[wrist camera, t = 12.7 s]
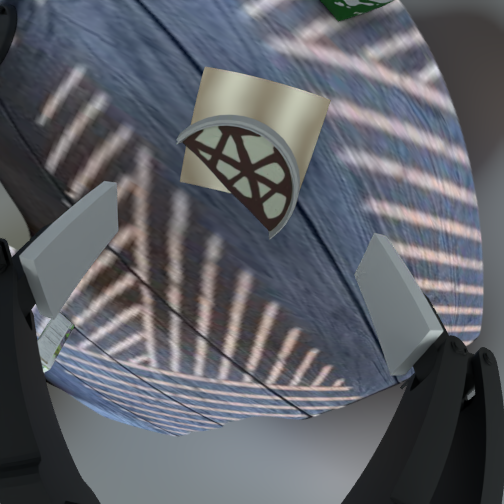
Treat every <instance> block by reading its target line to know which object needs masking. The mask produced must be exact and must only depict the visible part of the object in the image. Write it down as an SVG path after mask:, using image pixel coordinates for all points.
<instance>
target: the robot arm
mask: <svg viewBox="0 0 504 504" xmlns="http://www.w3.org/2000/svg"><path fill="white" fill-rule="evenodd" d="M16 21H17V14H16V10H15V8H14V6H12V5H6V4H1V5H0V63H1V62H2V60H3V59H4V57H5V55H6V53H7V51H8V49H9V47H10V44H11V42H12V39H13V36H14V32H15V28H16ZM117 232H118V211H117V183H114V182H107V181H104V182H103V183H101V184H100V185H99V186H97V187H96V188H95V189H93V190H92V191H91V192H89V193H88V194H87V195H86V196H84V197H83V198H82V199H81V200H79V201H78V202H77V203H76V204H75V205H73V206H72V207H71V208H70V209H69V210H67V211H66V212H65V213H64V214H63V215H62V216H60V217H59V218H58V219H57V220H56V221H55V222H54V223H51V224H49V225H47V226H45V227H43V228H42V229H41V230H39V231H38V232H37V233H36V234H35V236H33V237H32V238H31V239H30V241H28V242H27V243H26V244H25V245H24V246H23V247H22V248H21V249H20V250H19V251H18V252H17V253H16V254H15V255H14V256H13V257H12V256H11V253H10V250H9V246H8V243H7V241H6V240H5V239H2V238H0V503H1V504H100V502H99V500H98V499H97V497H96V495H95V494H94V492H93V491H92V490H91V488H90V487H89V486H88V485H87V484H86V483H85V482H84V480H83V479H82V477H81V476H80V474H79V472H78V469H77V467H76V465H75V463H74V461H73V459H72V456H71V454H70V452H69V449H68V447H67V445H66V442H65V440H64V437H63V434H62V432H61V429H60V426H59V424H58V421H57V418H56V415H55V412H54V409H53V406H52V402H51V399H50V395H49V392H48V388H47V384H46V380H45V376H44V372H43V368H42V363H41V358H40V353H39V348H38V342H37V336H36V329H35V322H34V315H33V313H32V310H31V309H32V308H33V306H34V305H35V304H36V305H37V308H38V310H39V313H40V314H41V315H43V316H46V317H48V318H51V319H53V320H55V318H56V316H57V315H58V313H59V312H60V310H61V309H62V307H63V305H64V304H65V302H66V301H67V299H68V298H69V296H70V295H71V293H72V292H73V291H74V289H75V288H76V286H77V285H78V283H79V282H80V280H81V279H82V278H83V276H84V275H85V273H86V272H87V271H88V269H89V268H90V267H91V265H92V264H93V263H94V261H95V260H96V259H97V257H98V256H99V255H100V253H101V252H102V251H103V249H104V248H105V247H106V246H107V244H108V243H109V242H110V241H111V239H112V238H113V237H114V236H115V234H116V233H117ZM354 275H355V278H356V280H357V282H358V285H359V287H360V290H361V292H362V295H363V298H364V300H365V303H366V305H367V308H368V311H369V313H370V316H371V319H372V321H373V324H374V327H375V330H376V333H377V335H378V338H379V341H380V344H381V347H382V350H383V353H384V356H385V359H386V362H387V365H388V369H389V372H390V375H405V374H406V373H407V372H408V371H409V370H410V369H411V368H412V366H413V367H414V370H415V373H414V374H413V375H412V376H411V377H410V378H409V379H408V380H407V381H406V382H405V383H404V384H403V385H402V386H401V387H400V388H401V389H403V388H404V387H405V386H407V387H406V390H405V392H404V394H403V397H402V399H401V401H400V404H399V406H398V408H397V410H396V412H395V415H394V417H393V419H392V421H391V423H390V425H389V427H388V429H387V431H386V433H385V435H384V437H383V438H382V440H381V442H380V444H379V446H378V448H377V449H376V451H375V453H374V455H373V456H372V458H371V460H370V461H369V463H368V465H367V466H366V468H365V470H364V471H363V473H362V474H361V476H360V478H359V479H358V480H357V482H356V483H355V485H354V486H353V488H352V489H351V491H350V492H349V493H348V495H347V496H346V498H345V499H344V500H343V502H342V503H341V504H502V496H503V489H504V406H503V397H502V390H501V383H500V377H499V371H498V366H497V362H496V359H495V357H494V354H493V353H492V352H491V351H490V350H488V349H487V348H485V347H482V348H480V349H479V350H478V351H477V352H476V353H475V354H472V353H469V352H468V350H467V348H466V346H465V344H464V343H463V342H462V341H461V340H460V339H459V338H457V337H455V336H451V335H450V336H449V335H448V333H447V331H446V329H445V327H444V325H443V323H442V322H441V320H440V318H439V316H438V314H436V313H437V312H436V311H435V309H434V308H433V305H432V304H431V302H430V300H429V298H428V297H427V296H426V295H425V294H424V293H423V292H422V291H421V289H420V288H419V286H418V284H417V283H416V281H415V279H414V278H413V276H412V274H411V273H410V271H409V270H408V268H407V267H406V265H405V263H404V262H403V260H402V259H401V257H400V256H399V254H398V253H397V251H396V250H395V248H394V247H393V245H392V244H391V243H390V241H389V240H388V238H387V237H386V236H384V235H380V234H376V233H374V234H373V237H372V239H371V241H370V243H369V245H368V248H367V250H366V252H365V254H364V256H363V258H362V260H361V262H360V264H359V266H358V268H357V270H356V272H355V274H354ZM474 389H475V395H474V396H473V397H472V398H471V399H470V400H468V399H467V395H469V394H470V393H471V392H472V391H473V390H474Z"/></svg>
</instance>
